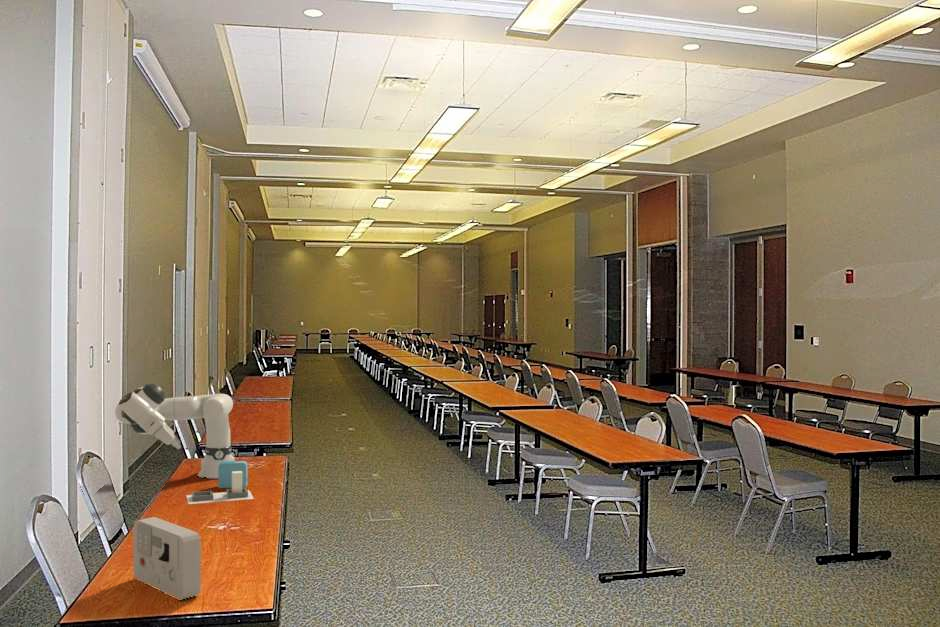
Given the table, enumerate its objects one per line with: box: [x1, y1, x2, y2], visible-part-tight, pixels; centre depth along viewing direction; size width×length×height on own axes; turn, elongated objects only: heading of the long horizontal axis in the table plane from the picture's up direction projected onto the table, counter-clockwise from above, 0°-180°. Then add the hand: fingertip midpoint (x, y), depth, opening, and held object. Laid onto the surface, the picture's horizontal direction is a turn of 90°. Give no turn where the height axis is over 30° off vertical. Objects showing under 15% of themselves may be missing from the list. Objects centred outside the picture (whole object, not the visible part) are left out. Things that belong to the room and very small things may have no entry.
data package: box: [217, 460, 249, 489], centre depth 345 cm, size 12×4×12 cm, turn 98°
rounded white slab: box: [132, 516, 202, 601], centre depth 222 cm, size 29×8×18 cm, turn 50°
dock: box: [186, 487, 255, 505], centre depth 326 cm, size 16×26×3 cm, turn 113°
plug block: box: [231, 471, 243, 493], centre depth 328 cm, size 4×4×10 cm
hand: (179, 445), depth 321 cm, fingers open, 8 cm apart
